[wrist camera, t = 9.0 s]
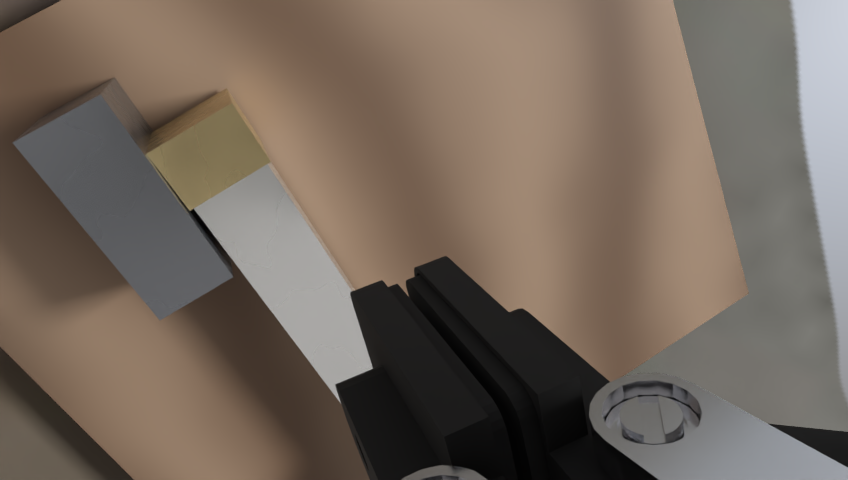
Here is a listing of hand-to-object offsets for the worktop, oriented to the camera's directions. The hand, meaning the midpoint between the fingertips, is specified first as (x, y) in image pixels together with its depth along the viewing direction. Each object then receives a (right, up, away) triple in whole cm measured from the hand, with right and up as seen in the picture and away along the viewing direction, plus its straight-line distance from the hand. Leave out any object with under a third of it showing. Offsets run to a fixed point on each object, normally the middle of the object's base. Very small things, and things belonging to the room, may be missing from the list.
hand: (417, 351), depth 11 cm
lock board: (-1, +2, +11) cm, 11 cm away
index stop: (-8, +4, +8) cm, 12 cm away
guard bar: (-3, -1, +9) cm, 10 cm away
